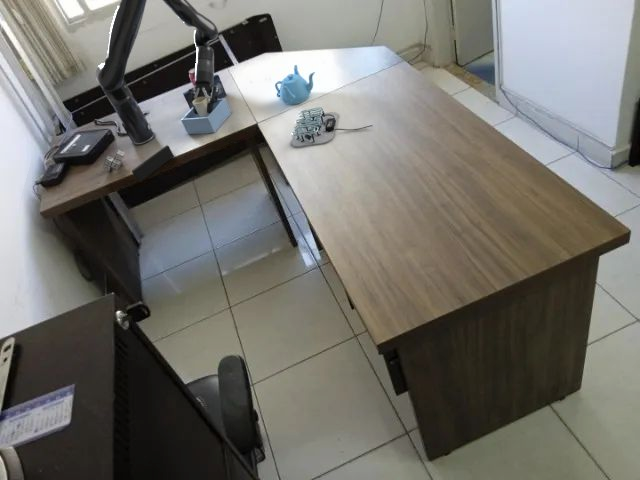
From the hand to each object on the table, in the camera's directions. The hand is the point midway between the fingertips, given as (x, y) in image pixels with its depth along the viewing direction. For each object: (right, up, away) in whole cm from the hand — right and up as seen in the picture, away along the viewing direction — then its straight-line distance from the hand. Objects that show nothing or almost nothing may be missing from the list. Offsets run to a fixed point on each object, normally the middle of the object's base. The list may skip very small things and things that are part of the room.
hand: (202, 113), depth 196 cm
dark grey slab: (-14, -25, -13) cm, 32 cm away
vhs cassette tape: (-2, +9, +20) cm, 22 cm away
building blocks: (-34, -23, -3) cm, 41 cm away
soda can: (-6, +17, +30) cm, 36 cm away
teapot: (+40, +6, 0) cm, 41 cm away
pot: (+2, -2, +4) cm, 5 cm away
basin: (+2, -3, +5) cm, 6 cm away
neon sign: (+54, -12, -25) cm, 60 cm away
